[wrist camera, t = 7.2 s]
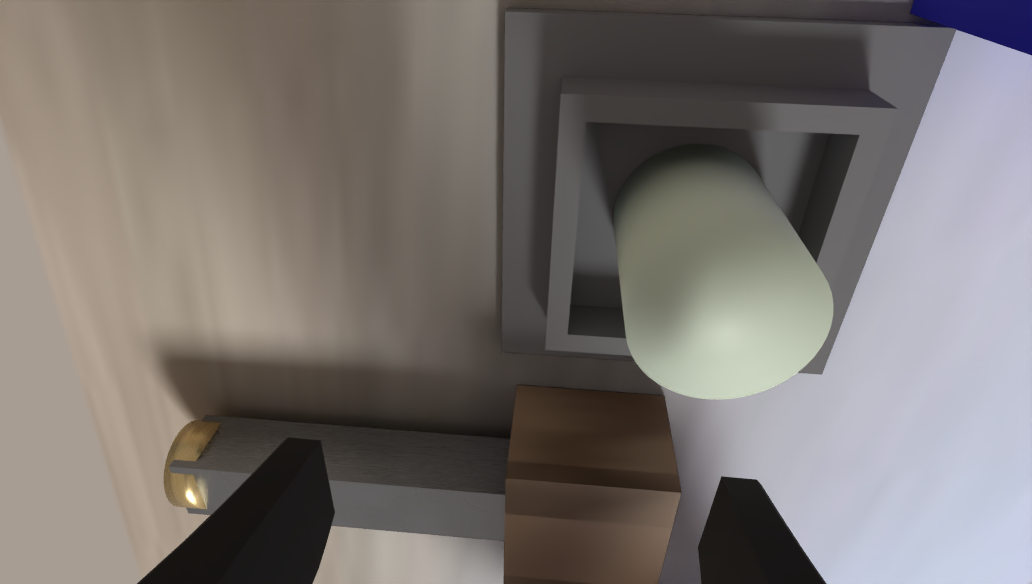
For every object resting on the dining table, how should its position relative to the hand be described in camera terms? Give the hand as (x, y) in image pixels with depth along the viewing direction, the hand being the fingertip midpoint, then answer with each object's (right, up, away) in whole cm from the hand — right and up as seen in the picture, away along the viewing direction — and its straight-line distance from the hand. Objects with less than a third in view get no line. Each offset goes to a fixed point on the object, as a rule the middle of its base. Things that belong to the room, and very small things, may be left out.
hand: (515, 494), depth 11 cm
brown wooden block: (+2, -2, +11) cm, 12 cm away
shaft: (-5, -2, +12) cm, 13 cm away
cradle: (+5, +6, +6) cm, 9 cm away
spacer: (+5, +6, +5) cm, 9 cm away
